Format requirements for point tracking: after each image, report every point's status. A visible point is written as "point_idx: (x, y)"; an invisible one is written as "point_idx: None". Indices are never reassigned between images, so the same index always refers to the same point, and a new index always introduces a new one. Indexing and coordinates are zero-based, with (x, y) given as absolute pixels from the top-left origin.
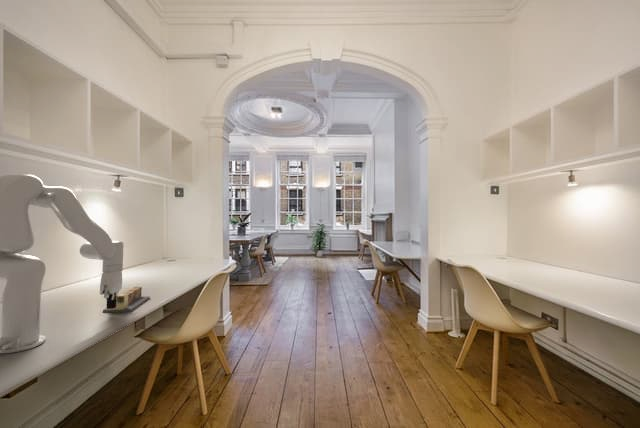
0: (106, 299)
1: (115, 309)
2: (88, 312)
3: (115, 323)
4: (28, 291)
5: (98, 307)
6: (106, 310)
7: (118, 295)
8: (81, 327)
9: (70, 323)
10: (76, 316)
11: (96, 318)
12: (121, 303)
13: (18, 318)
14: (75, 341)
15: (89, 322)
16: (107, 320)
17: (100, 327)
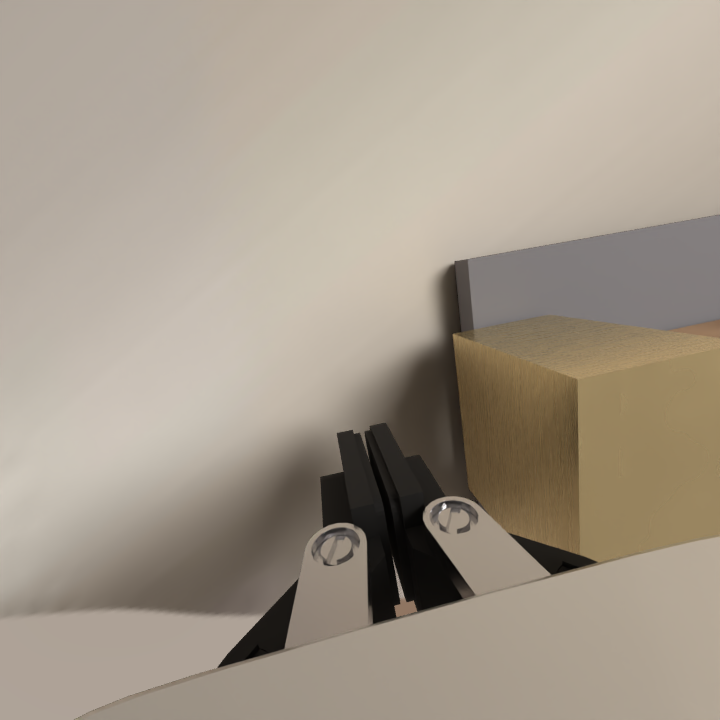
0: (304, 555)
1: (462, 411)
2: (469, 69)
3: (184, 585)
4: None
5: (646, 58)
6: (468, 300)
7: (635, 513)
8: (5, 373)
9: (80, 146)
10: (320, 19)
11: (283, 322)
12: (502, 509)
13: None
14: None
15: (159, 341)
16: (245, 468)
17: (60, 541)
